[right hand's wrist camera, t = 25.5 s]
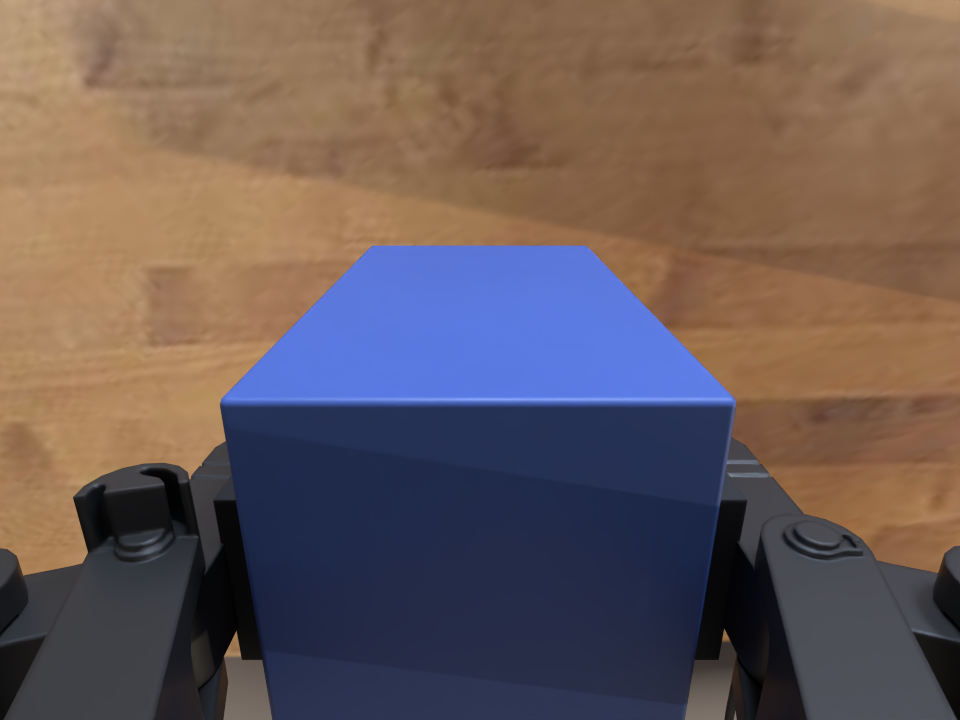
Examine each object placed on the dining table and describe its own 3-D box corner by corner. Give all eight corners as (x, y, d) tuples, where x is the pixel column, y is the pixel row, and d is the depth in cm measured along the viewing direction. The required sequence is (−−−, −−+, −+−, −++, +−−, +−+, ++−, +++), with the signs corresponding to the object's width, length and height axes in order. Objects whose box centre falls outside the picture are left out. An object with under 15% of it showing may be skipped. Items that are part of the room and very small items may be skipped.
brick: (384, 467, 17) (285, 812, 8) (370, 245, 15) (215, 399, 6) (574, 468, 17) (672, 813, 8) (588, 245, 15) (741, 399, 6)
